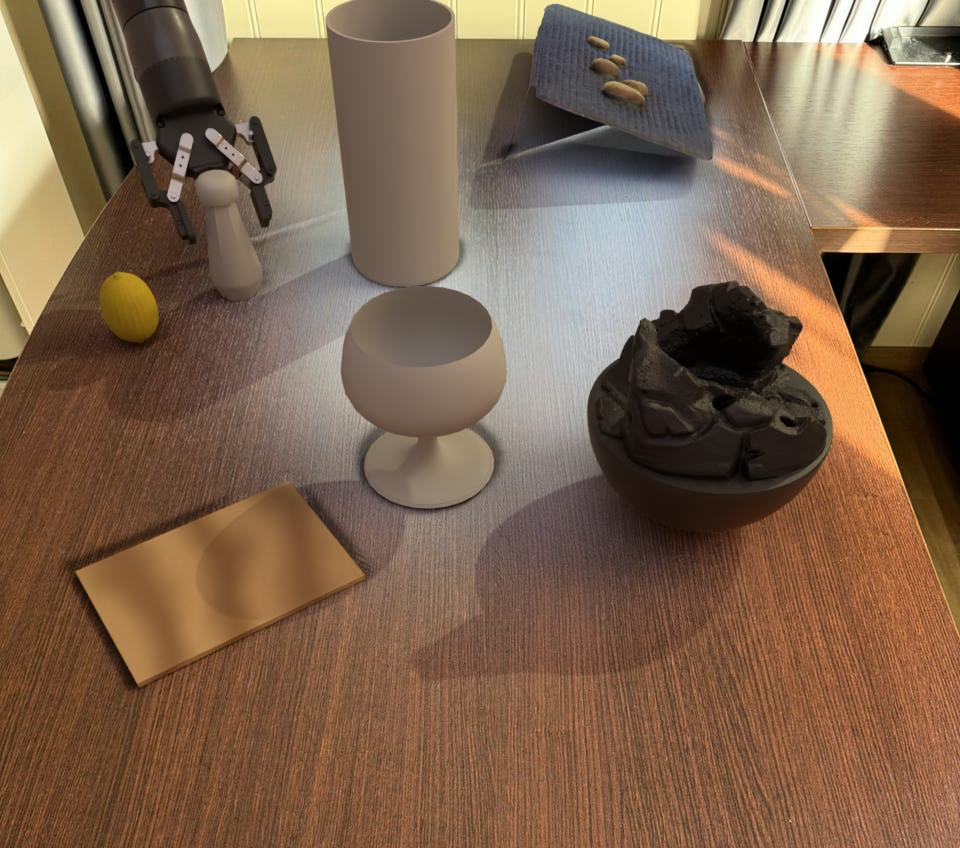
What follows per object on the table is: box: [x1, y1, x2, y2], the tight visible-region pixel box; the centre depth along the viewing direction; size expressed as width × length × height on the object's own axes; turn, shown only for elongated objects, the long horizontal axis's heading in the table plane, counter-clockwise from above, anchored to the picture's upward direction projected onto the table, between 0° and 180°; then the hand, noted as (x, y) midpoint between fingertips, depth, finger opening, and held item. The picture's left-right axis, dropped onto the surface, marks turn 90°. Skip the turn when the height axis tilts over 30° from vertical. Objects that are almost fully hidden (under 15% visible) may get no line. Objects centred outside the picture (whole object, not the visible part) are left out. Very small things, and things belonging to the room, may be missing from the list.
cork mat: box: [75, 480, 366, 688], centre depth 78 cm, size 20×14×1 cm
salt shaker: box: [194, 170, 263, 302], centre depth 100 cm, size 6×6×13 cm
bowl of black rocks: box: [586, 280, 834, 533], centre depth 77 cm, size 20×20×19 cm
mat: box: [501, 3, 714, 163], centre depth 134 cm, size 45×27×12 cm, turn 176°
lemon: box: [98, 271, 160, 344], centre depth 96 cm, size 6×6×8 cm
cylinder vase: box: [324, 0, 460, 288], centre depth 99 cm, size 12×12×25 cm
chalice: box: [340, 285, 508, 509], centre depth 81 cm, size 14×14×15 cm
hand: (229, 233), depth 98 cm, fingers open, 7 cm apart
